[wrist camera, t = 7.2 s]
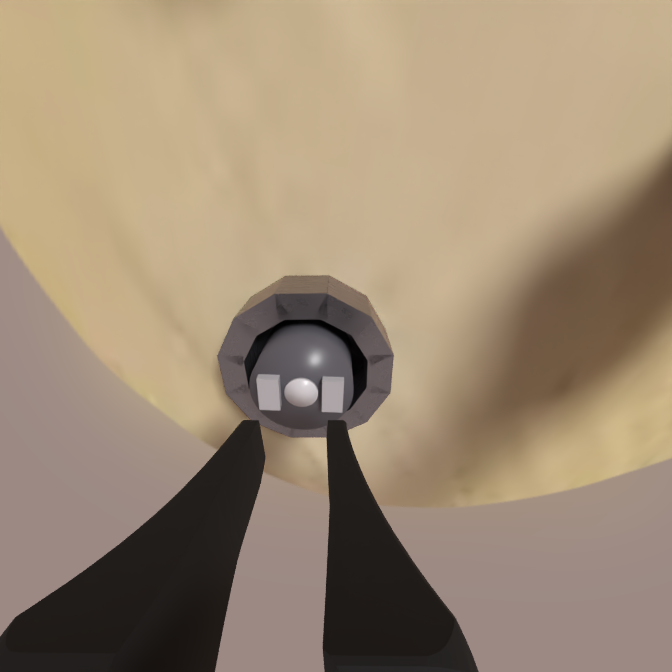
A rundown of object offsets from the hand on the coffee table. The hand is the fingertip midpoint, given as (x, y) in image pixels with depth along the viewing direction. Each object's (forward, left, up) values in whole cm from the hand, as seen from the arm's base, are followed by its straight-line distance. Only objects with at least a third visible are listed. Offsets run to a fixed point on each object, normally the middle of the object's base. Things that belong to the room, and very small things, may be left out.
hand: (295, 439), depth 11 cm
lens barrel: (0, 0, -7) cm, 7 cm away
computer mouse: (0, 0, -7) cm, 7 cm away
